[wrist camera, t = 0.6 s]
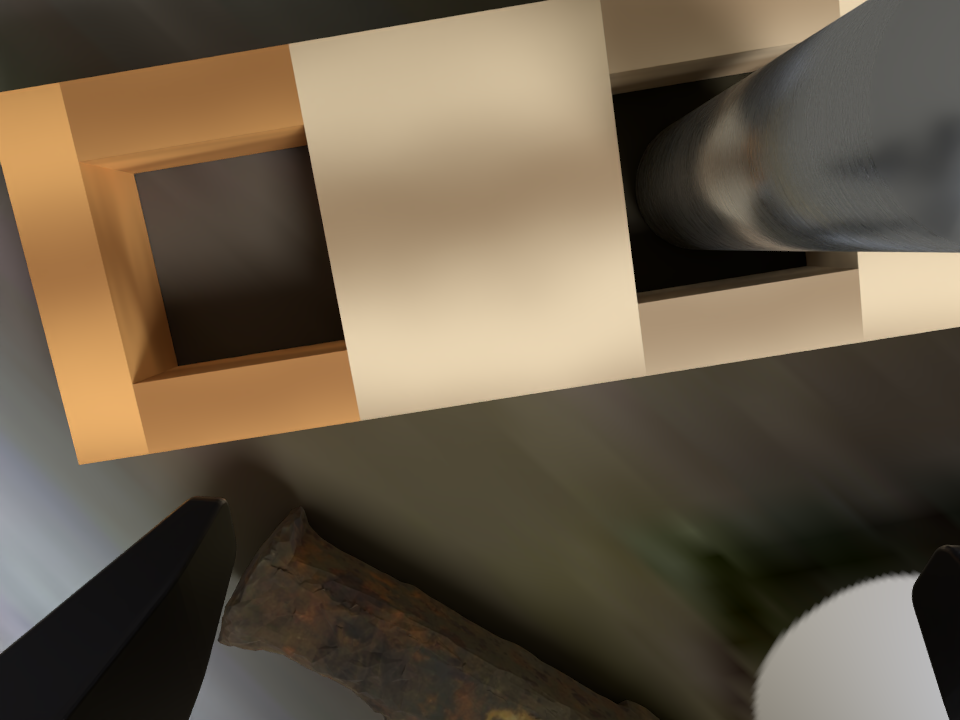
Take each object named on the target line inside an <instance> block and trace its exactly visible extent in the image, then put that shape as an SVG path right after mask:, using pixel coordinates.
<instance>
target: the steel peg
mask: <svg viewBox="0 0 960 720" xmlns="http://www.w3.org/2000/svg"><path fill="white" fill-rule="evenodd" d="M635 191H636V199H637V204H638V207H639V210H640V212H641V214H642V216H643V218H644V220H645V222H646V223H647V225H648V226H649V227H650V228H651V230H652V231H653V232H654V233H655V234H657V235H658V236H659V237H660V238H661V239H663V240H664V241H666V242H668V243H670V244H672V245H674V246H677V247H680V248H684V249H690V250H744V251H841V252H939V253H960V0H867V1H865V2H864V3H862V4H860V5H859V6H857V7H856V8H854V9H853V10H851V11H849V12H848V13H846V14H845V15H843V16H842V17H840V18H838V19H837V20H835V21H834V22H832V23H830V24H829V25H827V26H826V27H824V28H823V29H821V30H819V31H818V32H816V33H815V34H813V35H812V36H810V37H808V38H807V39H805V40H804V41H802V42H800V43H799V44H797V45H796V46H794V47H793V48H791V49H789V50H788V51H786V52H785V53H783V54H781V55H780V56H778V57H777V58H775V59H774V60H772V61H770V62H769V63H767V64H766V65H764V66H763V67H761V68H759V69H758V70H756V71H755V72H753V73H751V74H750V75H748V76H747V77H745V78H744V79H742V80H740V81H739V82H737V83H736V84H734V85H733V86H731V87H729V88H728V89H726V90H725V91H723V92H721V93H720V94H718V95H717V96H715V97H714V98H712V99H710V100H709V101H707V102H706V103H704V104H702V105H701V106H699V107H698V108H696V109H695V110H693V111H691V112H690V113H688V114H687V115H685V116H684V117H682V118H680V119H679V120H677V121H676V122H674V123H672V124H671V125H669V126H668V127H666V128H665V129H664V130H662V131H661V132H660V133H659V134H658V135H657V136H656V137H655V138H654V139H653V140H652V141H651V142H650V144H649V145H648V147H647V148H646V150H645V151H644V153H643V155H642V157H641V159H640V162H639V165H638V168H637V173H636V181H635Z"/></svg>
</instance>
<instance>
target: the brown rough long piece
mask: <svg viewBox="0 0 960 720" xmlns="http://www.w3.org/2000/svg"><path fill="white" fill-rule="evenodd" d="M218 641H219V642H220V643H222V644H224V645H227V646H236V647H239V648H242V649H248V650H254V651H257V650H265V651H269V652H274V653H278V654H283V655H285V656H286V657H288V658H290V659H292V660H294V661H296V662H297V663H299V664H300V665H302V666H304V667H306V668H308V669H310V670H312V671H315V672H317V673H319V674H320V675H322V676H324V677H328V678H330V679H332V680H334V681H336V682H338V683H340V684H342V685H343V686H345V687H347V688H349V689H351V690H352V691H353V692H354V693H355V694H356V695H358V696H359V697H360V698H361V699H362V700H364V701H365V702H366V703H367V704H368V705H369V706H370V707H371V708H372V709H373V710H374V711H375V712H378V713H381V714H383V715H384V718H385V720H660V719H659V718H657V717H656V716H655V715H654V714H652V713H651V712H650V711H649V710H648V709H646V708H645V707H643V706H641V705H639V704H637V703H635V702H632V701H629V700H625V701H623V702H621V703H619V704H616V703H614V702H612V701H611V700H609V699H607V698H605V697H603V696H601V695H598V694H597V693H595V692H593V691H592V690H590V689H588V688H587V687H585V686H583V685H582V684H580V683H579V682H577V681H575V680H574V679H572V678H571V677H569V676H567V675H565V674H564V673H562V672H560V671H558V670H557V669H555V668H553V667H551V666H549V665H547V664H546V663H544V662H542V661H540V660H539V659H538V658H536V657H535V656H534V655H533V654H532V653H530V652H529V651H527V650H525V649H524V648H522V647H520V646H519V645H517V644H515V643H513V642H510V641H507V640H504V639H502V638H500V637H498V636H496V635H494V634H492V633H490V632H489V631H487V630H485V629H484V628H482V627H480V626H478V625H477V624H475V623H473V622H471V621H469V620H467V619H466V618H464V617H463V616H461V615H460V614H458V613H457V612H455V611H454V610H452V609H450V608H448V607H447V606H445V605H444V604H442V603H440V602H439V601H437V600H435V599H433V598H431V597H430V596H428V595H427V594H425V593H424V592H422V591H421V590H420V589H418V588H417V587H415V586H414V585H411V584H407V583H404V582H400V581H398V580H397V579H395V578H393V577H391V576H390V575H388V574H386V573H383V572H381V571H379V570H377V569H376V568H374V567H372V566H370V565H368V564H366V563H364V562H362V561H361V560H359V559H357V558H355V557H353V556H351V555H349V554H347V553H345V552H343V551H341V550H339V549H338V548H336V547H335V546H333V545H331V544H330V543H328V542H327V541H325V540H324V539H322V538H321V537H320V536H319V535H318V534H317V533H316V532H315V531H314V530H313V529H312V528H311V527H310V525H309V524H308V521H307V517H306V514H305V510H304V509H303V508H302V507H301V506H300V507H297V508H295V509H292V510H291V512H290V514H289V515H288V516H287V517H286V518H285V519H284V520H283V521H282V522H281V523H280V524H279V526H278V527H277V528H276V529H275V530H274V532H272V534H271V536H270V537H269V538H268V539H267V540H266V541H265V542H264V544H263V545H262V546H261V547H260V548H259V550H258V551H257V553H256V555H255V556H254V558H253V559H252V561H251V563H250V564H249V566H248V567H247V569H246V570H245V572H244V573H243V575H242V577H241V579H240V581H239V583H238V585H237V587H236V589H235V591H234V593H233V595H232V597H231V598H230V600H229V601H228V603H227V605H226V606H225V611H224V615H223V617H222V625H221V631H220V635H219V639H218Z"/></svg>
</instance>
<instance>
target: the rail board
mask: <svg viewBox="0 0 960 720" xmlns="http://www.w3.org/2000/svg"><path fill="white" fill-rule="evenodd" d="M865 1H867V0H547V1H541V2H535V3H529V4H523V5H517V6H512V7H506V8H500V9H494V10H488V11H482V12H476V13H470V14H464V15H458V16H452V17H446V18H440V19H434V20H428V21H422V22H416V23H410V24H404V25H398V26H392V27H386V28H381V29H375V30H369V31H363V32H357V33H351V34H345V35H339V36H333V37H327V38H321V39H315V40H309V41H303V42H297V43H291V44H285V45H279V46H273V47H267V48H261V49H255V50H249V51H244V52H238V53H232V54H226V55H220V56H214V57H208V58H202V59H196V60H190V61H184V62H178V63H172V64H166V65H160V66H154V67H148V68H142V69H136V70H130V71H124V72H118V73H113V74H107V75H101V76H95V77H89V78H83V79H77V80H71V81H65V82H59V83H53V84H47V85H41V86H35V87H29V88H23V89H17V90H11V91H5V92H0V162H1V165H2V169H3V173H4V177H5V181H6V185H7V189H8V192H9V196H10V200H11V204H12V208H13V212H14V216H15V219H16V223H17V227H18V231H19V235H20V239H21V243H22V246H23V250H24V254H25V258H26V262H27V266H28V269H29V273H30V277H31V281H32V285H33V289H34V293H35V296H36V300H37V304H38V308H39V312H40V316H41V320H42V323H43V327H44V331H45V335H46V339H47V343H48V347H49V350H50V354H51V358H52V362H53V366H54V370H55V374H56V377H57V381H58V385H59V389H60V393H61V397H62V401H63V404H64V408H65V412H66V416H67V420H68V424H69V428H70V431H71V435H72V439H73V443H74V447H75V451H76V455H77V458H78V462H79V465H81V464H88V463H94V462H100V461H107V460H113V459H119V458H126V457H132V456H138V455H145V454H151V453H158V452H164V451H170V450H177V449H183V448H189V447H196V446H202V445H209V444H215V443H221V442H228V441H234V440H240V439H247V438H253V437H259V436H266V435H272V434H279V433H285V432H291V431H298V430H304V429H310V428H317V427H323V426H330V425H336V424H342V423H349V422H355V421H361V420H368V419H374V418H381V417H387V416H393V415H400V414H406V413H412V412H419V411H425V410H431V409H438V408H444V407H451V406H457V405H463V404H470V403H476V402H482V401H489V400H495V399H502V398H508V397H514V396H521V395H527V394H533V393H540V392H546V391H552V390H559V389H565V388H572V387H578V386H584V385H591V384H597V383H603V382H610V381H616V380H623V379H629V378H635V377H642V376H648V375H654V374H661V373H667V372H673V371H680V370H686V369H693V368H699V367H705V366H712V365H718V364H724V363H731V362H737V361H744V360H750V359H756V358H763V357H769V356H775V355H782V354H788V353H794V352H801V351H807V350H814V349H820V348H826V347H833V346H839V345H845V344H852V343H858V342H865V341H871V340H877V339H884V338H890V337H896V336H903V335H909V334H915V333H922V332H928V331H935V330H941V329H947V328H954V327H960V253H939V252H841V251H806V262H807V266H804V267H797V268H791V269H785V270H779V271H772V272H766V273H760V274H754V275H747V276H741V277H735V278H728V279H722V280H716V281H710V282H703V283H697V284H691V285H684V286H678V287H672V288H666V289H659V290H653V291H647V292H641V293H636V287H635V279H634V271H633V262H632V254H631V246H630V238H629V230H628V222H627V214H626V206H625V198H624V190H623V182H622V173H621V165H620V157H619V149H618V141H617V133H616V125H615V117H614V109H613V101H612V95H614V94H620V93H626V92H632V91H638V90H644V89H650V88H657V87H663V86H669V85H675V84H681V83H687V82H693V81H699V80H705V79H711V78H717V77H723V76H729V75H735V74H741V73H747V72H754V71H756V70H758V69H759V68H761V67H763V66H764V65H766V64H767V63H769V62H770V61H772V60H774V59H775V58H777V57H778V56H780V55H781V54H783V53H785V52H786V51H788V50H789V49H791V48H793V47H794V46H796V45H797V44H799V43H800V42H802V41H804V40H805V39H807V38H808V37H810V36H812V35H813V34H815V33H816V32H818V31H819V30H821V29H823V28H824V27H826V26H827V25H829V24H830V23H832V22H834V21H835V20H837V19H838V18H840V17H842V16H843V15H845V14H846V13H848V12H849V11H851V10H853V9H854V8H856V7H857V6H859V5H860V4H862V3H864V2H865ZM305 145H308V148H309V154H310V159H311V164H312V169H313V175H314V180H315V185H316V190H317V195H318V201H319V206H320V211H321V216H322V222H323V227H324V232H325V237H326V243H327V248H328V253H329V258H330V263H331V269H332V274H333V279H334V284H335V290H336V295H337V300H338V305H339V310H340V316H341V321H342V326H343V331H344V337H345V340H339V341H333V342H327V343H321V344H314V345H308V346H302V347H295V348H289V349H283V350H277V351H270V352H264V353H258V354H251V355H245V356H239V357H233V358H226V359H220V360H214V361H208V362H201V363H195V364H189V365H182V366H178V364H177V360H176V355H175V351H174V347H173V342H172V338H171V334H170V329H169V325H168V321H167V316H166V312H165V308H164V303H163V299H162V295H161V290H160V286H159V282H158V277H157V273H156V269H155V264H154V260H153V256H152V251H151V247H150V243H149V238H148V234H147V230H146V225H145V221H144V217H143V212H142V208H141V204H140V199H139V195H138V191H137V186H136V182H135V178H134V174H135V173H141V172H147V171H153V170H159V169H166V168H172V167H178V166H184V165H190V164H196V163H202V162H208V161H214V160H220V159H226V158H232V157H238V156H244V155H250V154H256V153H263V152H269V151H275V150H281V149H287V148H293V147H299V146H305Z"/></svg>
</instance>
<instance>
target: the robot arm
mask: <svg viewBox="0 0 960 720" xmlns="http://www.w3.org/2000/svg"><path fill="white" fill-rule="evenodd" d="M235 556H236V539H235V534H234V529H233V523H232V518H231V513H230V507H229V504H228V502H227V501H226V500H225V499H223V498H220V497H204V496H195V497H192V498H190V499H188V500H187V501H186V502H184V503H183V504H182V505H181V506H179V507H178V508H177V509H176V510H175V511H173V512H172V513H171V514H170V515H169V516H167V517H166V518H165V519H164V520H162V521H161V522H160V523H159V524H158V525H156V526H155V527H154V528H153V529H152V530H150V531H149V532H148V533H147V534H145V535H144V536H143V537H142V538H141V539H139V540H138V541H137V542H136V543H134V544H133V545H132V546H131V547H130V548H128V549H127V550H126V551H125V552H124V553H122V554H121V555H120V556H119V557H117V558H116V559H115V560H114V561H113V562H111V563H110V564H109V565H108V566H107V567H105V568H104V569H103V570H102V571H100V572H99V573H98V574H97V575H96V576H94V577H93V578H92V579H91V580H90V581H88V582H87V583H86V584H85V585H83V586H82V587H81V588H80V589H79V590H77V591H76V592H75V593H74V594H73V595H71V596H70V597H69V598H68V599H66V600H65V601H64V602H63V603H62V604H60V605H59V606H58V607H57V608H56V609H54V610H53V611H52V612H51V613H49V614H48V615H47V616H46V617H45V618H43V619H42V620H41V621H40V622H39V623H37V624H36V625H35V626H34V627H32V628H31V629H30V630H29V631H28V632H26V633H25V634H24V635H23V636H21V637H20V638H19V639H18V640H17V641H15V642H14V643H13V644H12V645H11V646H9V647H8V648H7V649H6V650H4V651H3V652H2V653H1V654H0V720H189V717H190V715H191V712H192V709H193V707H194V704H195V701H196V699H197V696H198V693H199V690H200V688H201V685H202V682H203V679H204V676H205V672H206V669H207V665H208V662H209V658H210V654H211V650H212V647H213V643H214V639H215V635H216V631H217V627H218V623H219V619H220V616H221V612H222V608H223V604H224V600H225V596H226V592H227V588H228V585H229V581H230V577H231V573H232V569H233V565H234V561H235ZM912 602H913V607H914V610H915V613H916V616H917V619H918V622H919V625H920V629H921V632H922V635H923V639H924V642H925V645H926V648H927V651H928V655H929V658H930V661H931V664H932V667H933V671H934V674H935V677H936V680H937V683H938V687H939V690H940V693H941V696H942V699H943V703H944V706H945V708H946V711H947V714H948V717H949V720H960V546H957V545H943V546H941V547H939V548H938V549H937V550H936V551H935V552H934V554H933V555H932V557H931V558H930V560H929V562H928V563H927V565H926V566H925V568H924V569H923V571H922V572H921V574H920V576H919V577H918V579H917V580H916V582H915V584H914V586H913V590H912Z"/></svg>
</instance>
